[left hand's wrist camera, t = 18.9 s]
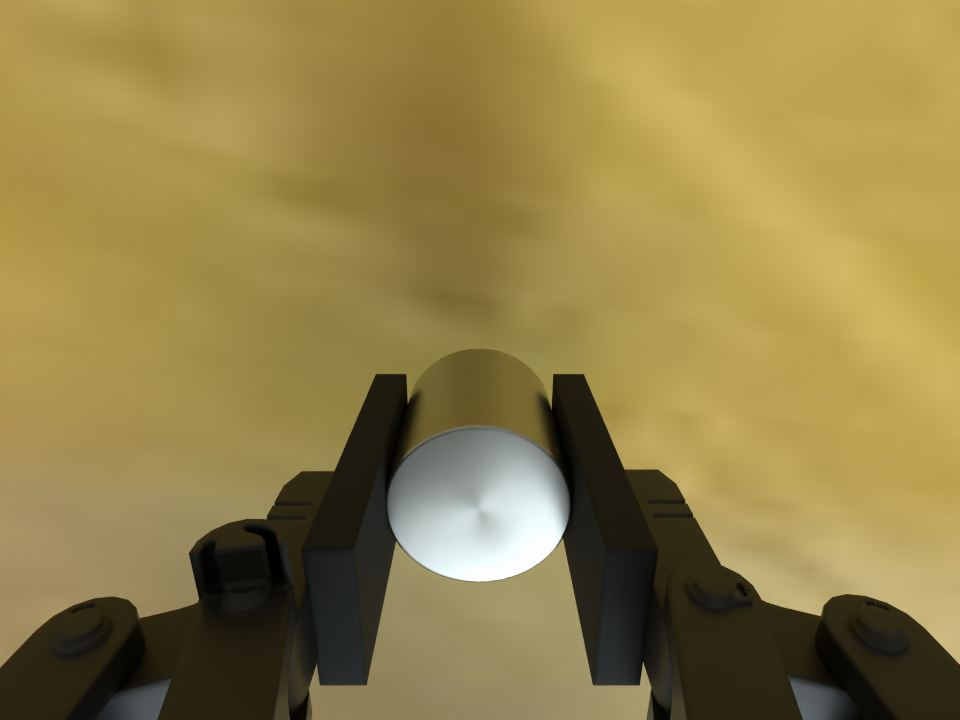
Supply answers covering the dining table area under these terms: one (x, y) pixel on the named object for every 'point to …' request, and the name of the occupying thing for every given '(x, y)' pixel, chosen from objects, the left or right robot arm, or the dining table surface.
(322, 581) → the left robot arm
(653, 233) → the dining table surface
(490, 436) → the can
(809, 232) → the dining table surface
